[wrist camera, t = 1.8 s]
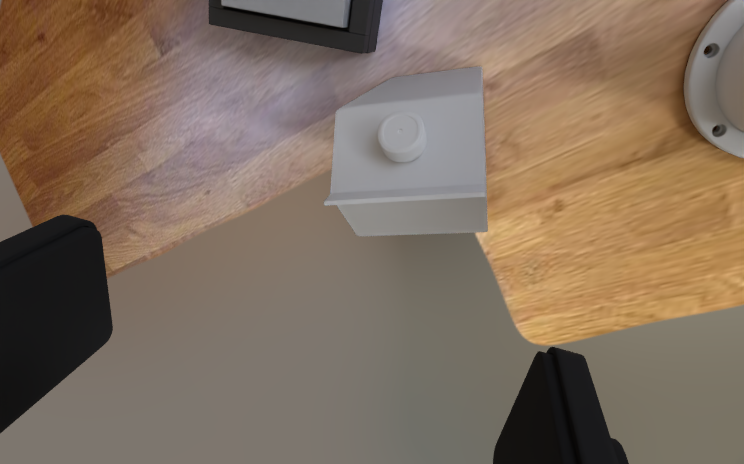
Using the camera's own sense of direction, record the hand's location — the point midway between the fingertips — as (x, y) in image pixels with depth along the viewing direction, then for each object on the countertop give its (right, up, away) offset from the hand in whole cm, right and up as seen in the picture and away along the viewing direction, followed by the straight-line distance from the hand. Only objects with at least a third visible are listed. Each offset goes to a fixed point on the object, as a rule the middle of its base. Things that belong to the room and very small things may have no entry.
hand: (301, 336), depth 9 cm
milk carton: (+7, +11, +27) cm, 30 cm away
